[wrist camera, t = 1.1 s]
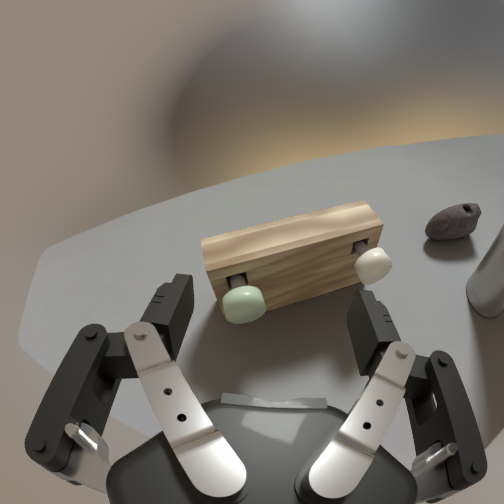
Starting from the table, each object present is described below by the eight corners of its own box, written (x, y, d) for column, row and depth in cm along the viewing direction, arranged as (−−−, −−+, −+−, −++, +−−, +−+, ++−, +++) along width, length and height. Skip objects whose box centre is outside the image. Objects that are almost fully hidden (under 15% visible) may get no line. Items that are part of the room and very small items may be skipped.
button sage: (267, 317, 31) (264, 297, 27) (229, 327, 30) (222, 308, 27) (254, 278, 34) (251, 256, 31) (220, 287, 34) (213, 265, 31)
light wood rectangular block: (365, 280, 40) (383, 224, 31) (226, 322, 38) (206, 271, 29) (351, 257, 43) (364, 199, 34) (220, 294, 41) (200, 239, 32)
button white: (386, 278, 32) (396, 256, 29) (358, 288, 31) (365, 266, 28) (366, 246, 36) (372, 223, 32) (338, 255, 35) (343, 231, 32)
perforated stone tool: (427, 249, 42) (440, 222, 37) (414, 229, 46) (425, 201, 41) (476, 239, 42) (489, 214, 37) (463, 222, 46) (474, 197, 40)
